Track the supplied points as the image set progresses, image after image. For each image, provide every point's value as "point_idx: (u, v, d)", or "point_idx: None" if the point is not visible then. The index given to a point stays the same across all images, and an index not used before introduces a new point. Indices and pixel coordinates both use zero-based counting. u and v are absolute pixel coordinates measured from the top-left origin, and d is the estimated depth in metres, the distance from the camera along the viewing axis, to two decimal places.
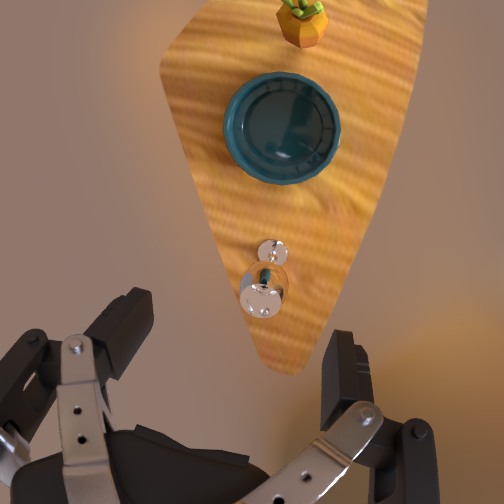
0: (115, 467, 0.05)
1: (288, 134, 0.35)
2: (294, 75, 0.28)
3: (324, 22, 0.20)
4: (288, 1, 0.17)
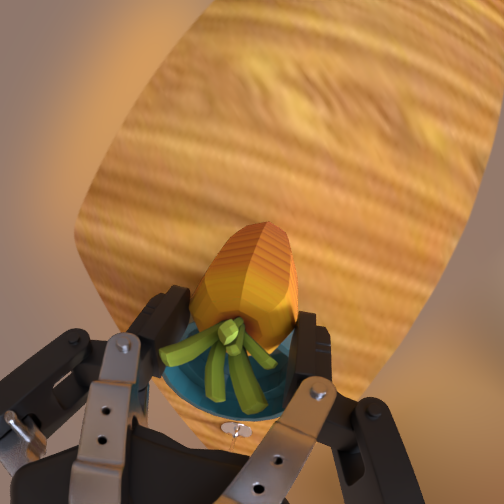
0: None
1: None
2: None
3: (285, 337, 0.12)
4: (194, 357, 0.10)
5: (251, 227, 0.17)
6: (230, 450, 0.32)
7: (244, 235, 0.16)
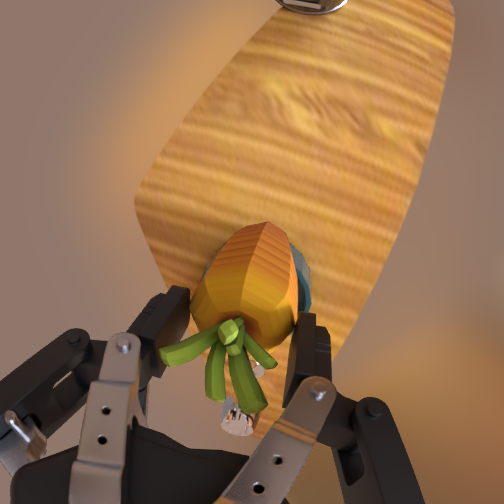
0: None
1: None
2: None
3: (285, 337, 0.13)
4: (194, 357, 0.10)
5: (251, 227, 0.18)
6: None
7: (244, 235, 0.16)
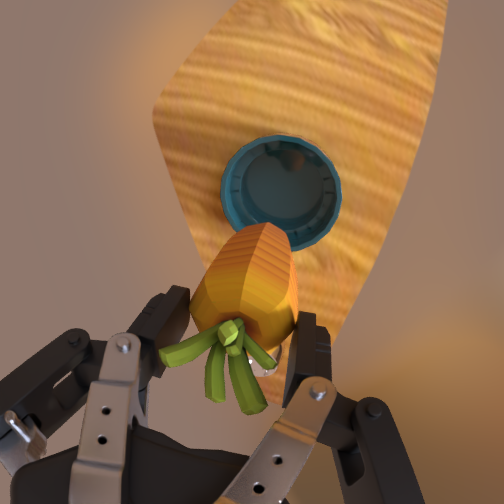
0: None
1: (287, 194, 0.36)
2: (295, 139, 0.28)
3: (285, 338, 0.12)
4: (194, 357, 0.10)
5: (251, 227, 0.18)
6: None
7: (244, 236, 0.16)
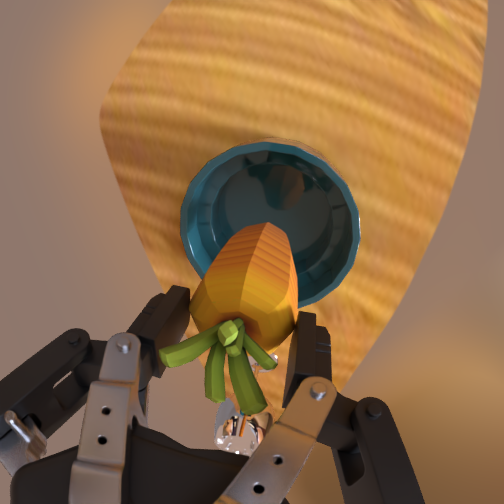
0: None
1: (280, 226, 0.25)
2: (290, 148, 0.18)
3: (285, 338, 0.12)
4: (194, 357, 0.10)
5: (251, 228, 0.18)
6: None
7: (244, 236, 0.16)
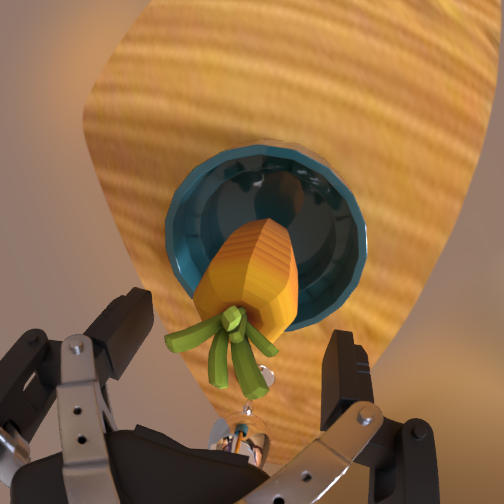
0: (115, 467, 0.05)
1: None
2: (288, 153, 0.16)
3: (285, 327, 0.13)
4: None
5: (253, 223, 0.18)
6: (249, 400, 0.28)
7: (246, 230, 0.16)
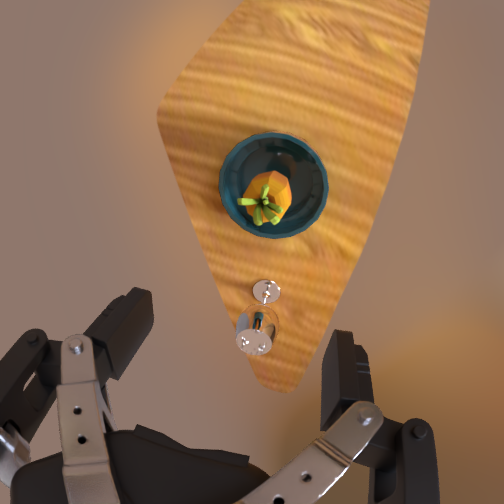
0: (115, 467, 0.05)
1: None
2: (285, 136, 0.32)
3: (286, 208, 0.29)
4: (250, 205, 0.27)
5: None
6: (263, 303, 0.44)
7: (265, 172, 0.32)
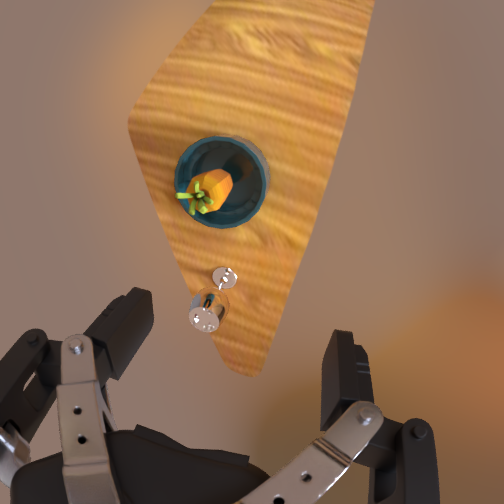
0: (115, 467, 0.05)
1: None
2: (227, 138, 0.37)
3: (220, 201, 0.34)
4: (185, 198, 0.32)
5: None
6: (218, 287, 0.49)
7: (209, 171, 0.37)
